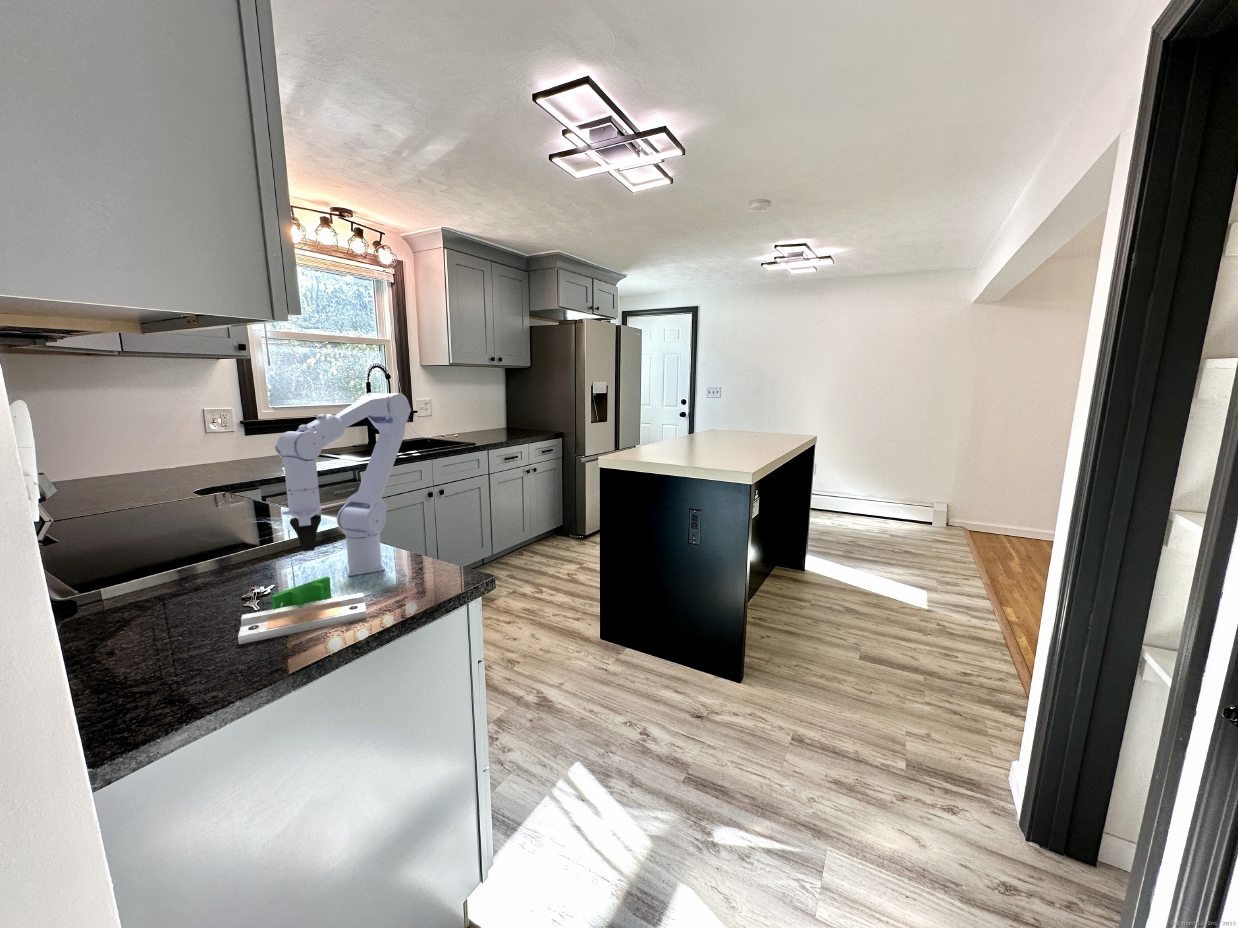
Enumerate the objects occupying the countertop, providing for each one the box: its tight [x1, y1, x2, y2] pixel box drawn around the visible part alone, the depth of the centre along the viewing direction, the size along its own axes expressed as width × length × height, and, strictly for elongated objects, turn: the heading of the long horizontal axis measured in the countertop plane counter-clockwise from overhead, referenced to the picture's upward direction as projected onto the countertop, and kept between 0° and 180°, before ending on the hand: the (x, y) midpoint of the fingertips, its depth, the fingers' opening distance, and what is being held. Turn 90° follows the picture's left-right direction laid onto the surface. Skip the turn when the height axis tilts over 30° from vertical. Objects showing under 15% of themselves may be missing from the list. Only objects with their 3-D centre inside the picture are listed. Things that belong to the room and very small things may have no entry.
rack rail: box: [237, 592, 367, 645], centre depth 95 cm, size 7×20×2 cm, turn 121°
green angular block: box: [270, 575, 332, 610], centre depth 102 cm, size 11×4×5 cm, turn 153°
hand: (308, 549), depth 108 cm, fingers closed
